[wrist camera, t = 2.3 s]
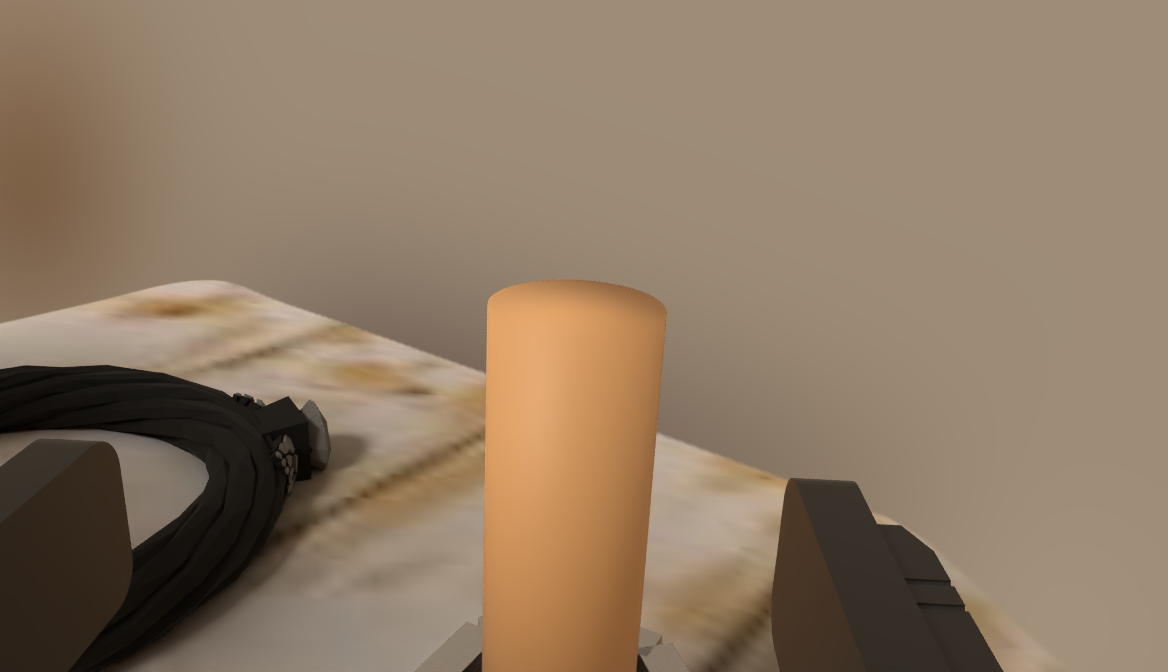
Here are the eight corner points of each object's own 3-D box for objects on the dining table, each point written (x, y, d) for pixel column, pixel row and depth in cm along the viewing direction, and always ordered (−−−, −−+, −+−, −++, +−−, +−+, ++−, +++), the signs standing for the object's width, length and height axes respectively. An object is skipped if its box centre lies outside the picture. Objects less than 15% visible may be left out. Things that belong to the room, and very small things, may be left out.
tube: (497, 881, 26) (510, 342, 21) (467, 763, 30) (471, 283, 24) (645, 846, 27) (695, 331, 22) (598, 737, 31) (630, 276, 26)
